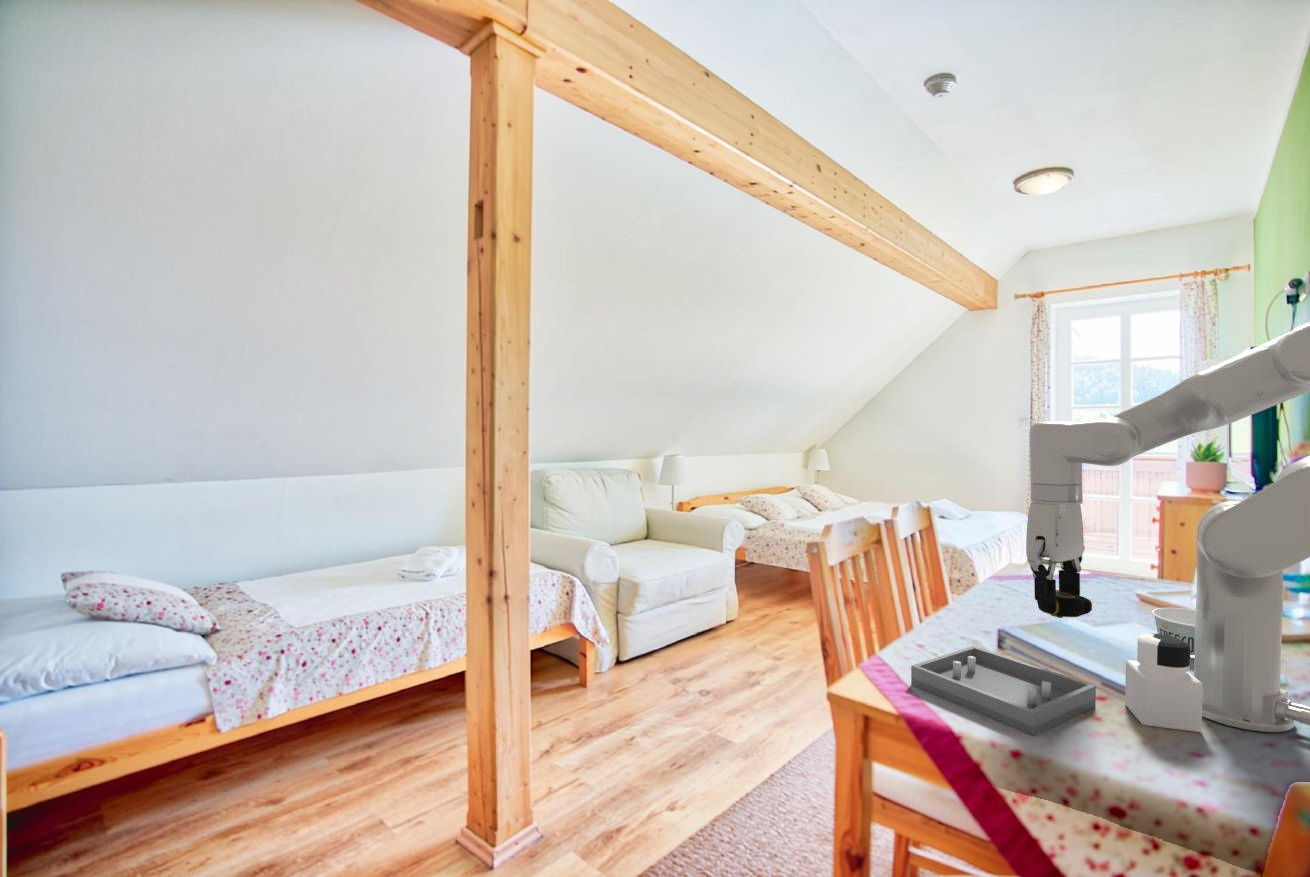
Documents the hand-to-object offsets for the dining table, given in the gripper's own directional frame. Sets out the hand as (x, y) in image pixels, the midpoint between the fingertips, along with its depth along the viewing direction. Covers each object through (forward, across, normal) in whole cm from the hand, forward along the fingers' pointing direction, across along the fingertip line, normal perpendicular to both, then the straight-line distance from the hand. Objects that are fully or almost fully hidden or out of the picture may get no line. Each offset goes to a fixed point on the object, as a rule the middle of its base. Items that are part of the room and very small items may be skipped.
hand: (1057, 597), depth 110 cm
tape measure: (+3, -1, 0) cm, 3 cm away
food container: (+14, -33, +7) cm, 36 cm away
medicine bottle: (+14, +3, +16) cm, 22 cm away
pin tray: (+13, +16, -1) cm, 21 cm away
